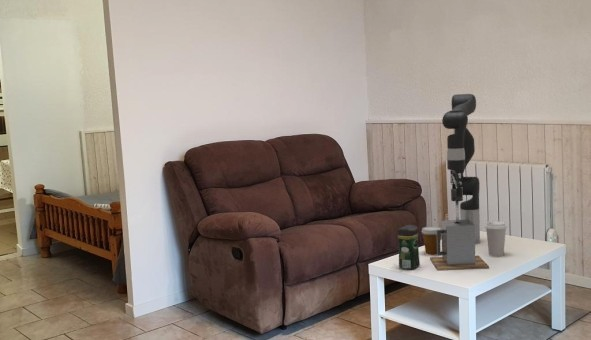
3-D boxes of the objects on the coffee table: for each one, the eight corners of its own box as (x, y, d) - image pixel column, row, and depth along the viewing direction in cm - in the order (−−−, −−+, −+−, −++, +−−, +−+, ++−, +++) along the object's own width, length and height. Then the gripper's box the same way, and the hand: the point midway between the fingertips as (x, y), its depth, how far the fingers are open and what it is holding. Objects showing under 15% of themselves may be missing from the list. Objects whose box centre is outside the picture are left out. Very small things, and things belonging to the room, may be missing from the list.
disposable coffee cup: (443, 255, 287) (442, 230, 286) (422, 255, 289) (421, 230, 288) (442, 250, 297) (441, 226, 295) (422, 250, 299) (421, 226, 297)
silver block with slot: (435, 258, 279) (434, 220, 277) (469, 257, 278) (468, 219, 276) (440, 266, 267) (439, 226, 265) (476, 264, 266) (475, 225, 264)
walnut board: (430, 259, 282) (429, 257, 282) (478, 257, 281) (478, 255, 281) (437, 270, 264) (437, 268, 264) (489, 268, 263) (489, 266, 263)
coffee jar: (405, 263, 278) (404, 222, 276) (422, 265, 273) (420, 224, 271) (395, 268, 270) (394, 227, 268) (412, 270, 266) (411, 228, 264)
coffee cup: (484, 251, 290) (483, 220, 288) (505, 251, 288) (505, 220, 286) (486, 257, 281) (485, 224, 279) (508, 257, 279) (508, 224, 277)
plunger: (446, 231, 275) (445, 188, 273) (465, 231, 275) (464, 187, 273) (450, 236, 267) (448, 190, 265) (469, 235, 267) (468, 190, 264)
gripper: (468, 159, 260) (469, 197, 262) (461, 156, 274) (462, 192, 276) (450, 160, 260) (451, 198, 262) (444, 157, 275) (445, 193, 276)
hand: (456, 195), depth 269 cm, fingers open, 8 cm apart
